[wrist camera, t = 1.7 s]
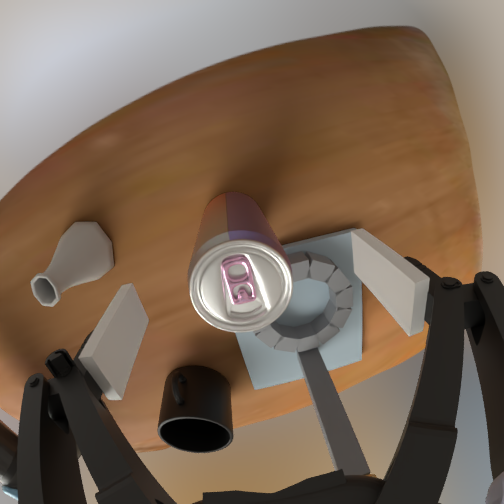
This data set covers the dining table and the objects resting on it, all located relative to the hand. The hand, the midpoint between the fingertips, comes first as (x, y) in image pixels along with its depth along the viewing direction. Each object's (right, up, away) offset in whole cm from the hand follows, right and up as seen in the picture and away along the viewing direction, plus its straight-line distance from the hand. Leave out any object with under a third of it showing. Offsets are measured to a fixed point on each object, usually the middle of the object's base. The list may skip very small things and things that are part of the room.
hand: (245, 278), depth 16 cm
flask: (-18, +2, +13) cm, 22 cm away
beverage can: (-2, +5, +13) cm, 14 cm away
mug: (-8, -17, +21) cm, 28 cm away
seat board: (+6, -7, +18) cm, 20 cm away
